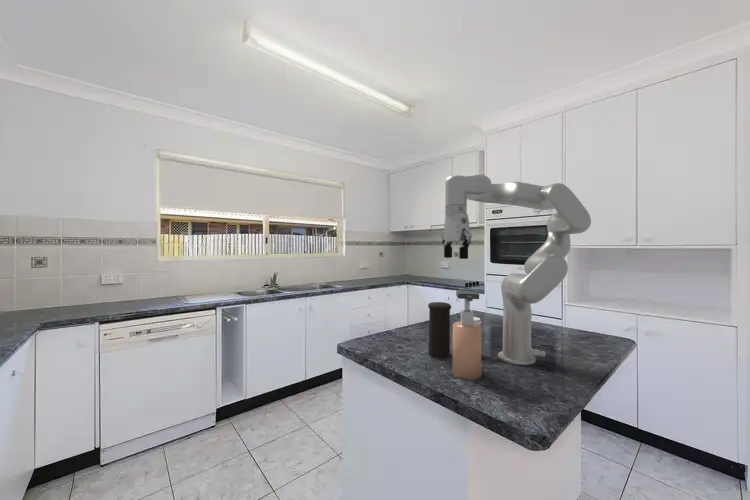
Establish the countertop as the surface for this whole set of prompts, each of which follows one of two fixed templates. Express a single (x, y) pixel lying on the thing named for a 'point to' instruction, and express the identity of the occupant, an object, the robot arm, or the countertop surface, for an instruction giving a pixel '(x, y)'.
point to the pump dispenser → (466, 347)
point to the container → (439, 329)
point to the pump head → (467, 297)
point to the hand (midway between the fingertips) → (455, 258)
